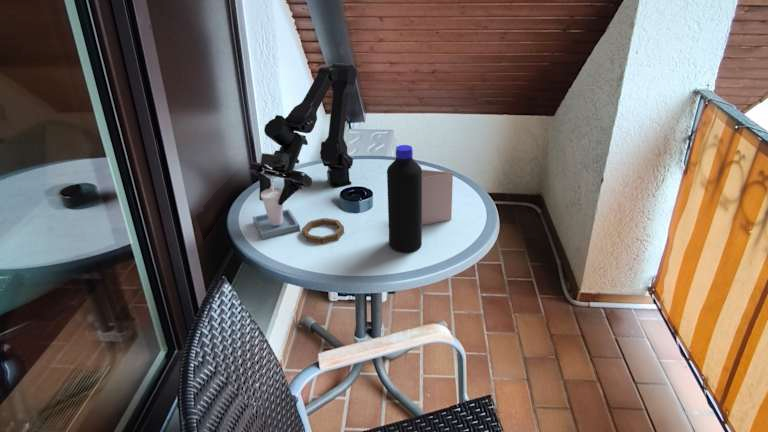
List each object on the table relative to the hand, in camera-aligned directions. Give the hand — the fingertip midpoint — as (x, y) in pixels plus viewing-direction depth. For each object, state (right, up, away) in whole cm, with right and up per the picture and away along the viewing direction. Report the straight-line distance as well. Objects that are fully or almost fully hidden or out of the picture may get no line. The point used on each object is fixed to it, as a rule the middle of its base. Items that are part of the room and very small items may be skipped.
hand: (270, 202), depth 153 cm
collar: (+15, -9, +1) cm, 17 cm away
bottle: (+38, -12, -6) cm, 40 cm away
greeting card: (+46, -6, +5) cm, 46 cm away
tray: (+1, -7, +5) cm, 9 cm away
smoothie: (+1, -6, +5) cm, 7 cm away
